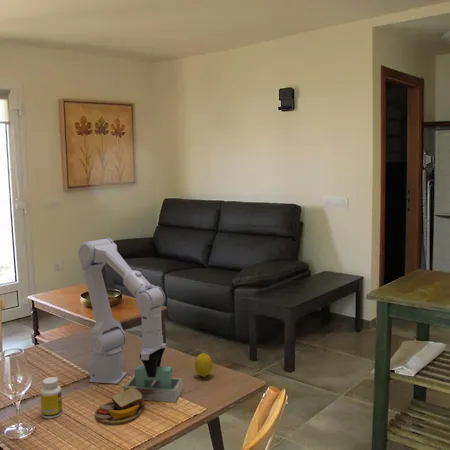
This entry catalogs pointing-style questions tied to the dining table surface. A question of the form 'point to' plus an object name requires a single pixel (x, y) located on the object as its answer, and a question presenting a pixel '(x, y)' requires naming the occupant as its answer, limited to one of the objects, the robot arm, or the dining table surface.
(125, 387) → the cabinet frame
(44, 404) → the supplement bottle
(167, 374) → the clip
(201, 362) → the lemon
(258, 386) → the dining table surface
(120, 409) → the toy sandwich meal
